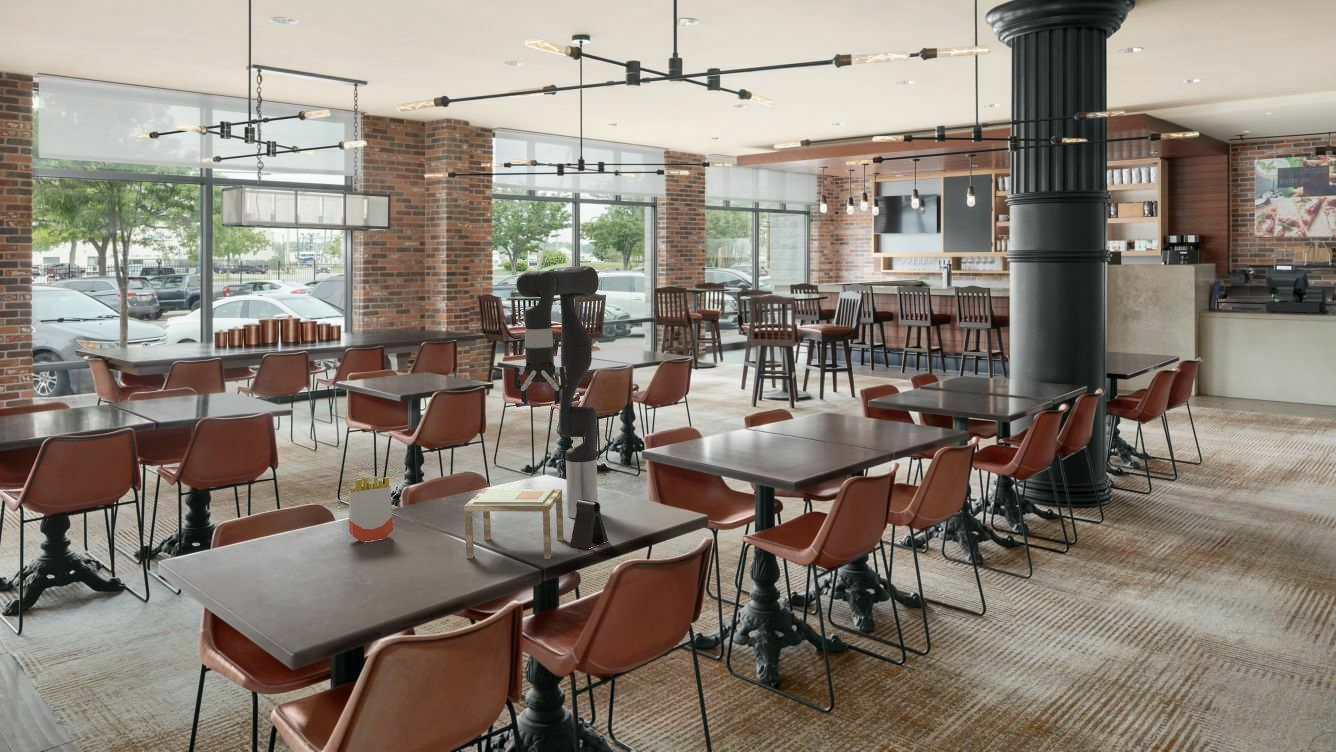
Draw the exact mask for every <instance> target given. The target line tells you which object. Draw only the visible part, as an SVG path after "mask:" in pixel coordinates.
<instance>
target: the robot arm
mask: <svg viewBox="0 0 1336 752" xmlns="http://www.w3.org/2000/svg"><path fill="white" fill-rule="evenodd" d="M599 282H600V280H599V275H598V272H597V271H596V269H595V268H594V267H592V266H587V265H578V266H577V265H575V266H564V267H563V268H561V270H537V271H536V270H533V271H532V270H528V271H523V272H521V273H520V274H519V275H518V277H517V279H516V283H515V284H516V290H517V291H518V293H519V294H520V295H521V296H522V297H524V298H540V300H539V303H538V304H537V305H533V306H529V307H528V306H527V308H525V310H524V325H525V333H524V345H525V346H524V347H525V348H524V349H525V350H524V351H525V366H519V365H517V366H516V367H514V370H513V371H514V372H513V373H514V374H513V376H514V377H513V387H514V389H515V390H519V391H520V393H521V402H522V403H523V405H528V404H529V391H528V388H529V387H530V385H531V384H532V382H534V383H536V384H537V383H547V382H548V383H549V384H550V385H551V387H552V388H553V389H554V391H553V393H554V405H559V420H558V422H559V432H560V435H561V436H562V437H563V438H584V441H583V442H582V443H580V444H578V445H576V446H574V447H570V448H568V449H567V450H566V451H565V470H566V472H565V473H566V496H567V497H566V505H567V507H566V508H567V516H568V517H569V518H571V519H575V517H576V512H577V508H576V504H577V501H578V500H587V501H593V502H598V503H599V501H598V499H599V496H598V468H597V467H598V464H597V461H598V459H597V426H598V425H597V423H598V418H597V417H598V416H597V412H596V409H595V407H593V406H584V405H583V406H577V405H575V406H573V402H574V396H575V394H576V392H577V389H578V386H579V385H580V383H581V382H582V380H583V379H584V377H585V375H586V374H587V373H588V371H589V369H590V367H591V364H592V359H593V358H592V356H593V353H592V352H593V351H592V349H593V348H592V343H593V342H592V338H591V335H590V334H589V333H588V331H587V329H586V327H585V326H584V324H583V322H582V321H581V319H580V318H579V315H578V313H577V309H576V305H575V298H585V297H586V298H588V297H592V296H594V295H595V294H596V293H597V291H598V289H599ZM555 296H559V301H560V303H559V304H560V317H561V325H560V326H561V330H560V331H561V332H560V333H561V334H560V335H561V336H560V337H561V338H560V340H561V341H560V366H555V361H554V360H555V358H554V357H555V356H554V336H553V330H552V309H553V303H554V299H555ZM524 373H525V374H526V375H527V378H526V380H524V382H523V384H521V381H522V380H521V379H522V377H521V375H523V374H524ZM555 373H557V374H558V375H559V376H560V377H559V378H560V383H559V382H558V381H557V379H556V378H555V377H554V374H555Z"/></svg>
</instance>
